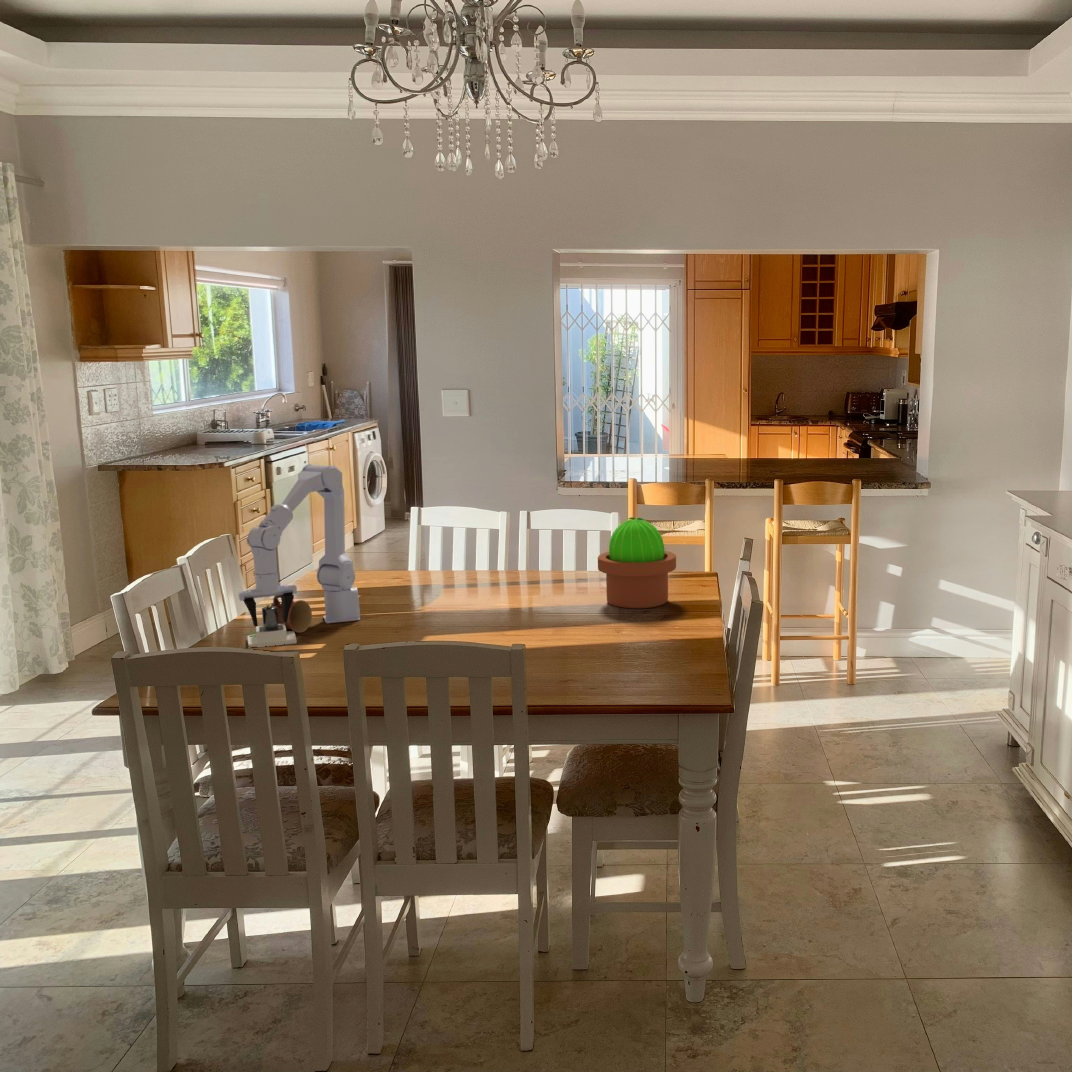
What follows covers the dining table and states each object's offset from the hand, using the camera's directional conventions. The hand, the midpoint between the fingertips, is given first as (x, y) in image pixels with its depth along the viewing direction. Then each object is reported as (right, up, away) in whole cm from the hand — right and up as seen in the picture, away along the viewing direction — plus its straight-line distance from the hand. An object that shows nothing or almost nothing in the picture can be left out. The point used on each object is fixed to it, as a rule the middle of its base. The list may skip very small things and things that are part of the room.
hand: (270, 623), depth 261 cm
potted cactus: (+99, +3, +30) cm, 103 cm away
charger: (0, -5, +1) cm, 5 cm away
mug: (-4, +2, +13) cm, 13 cm away
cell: (0, -4, +1) cm, 4 cm away
